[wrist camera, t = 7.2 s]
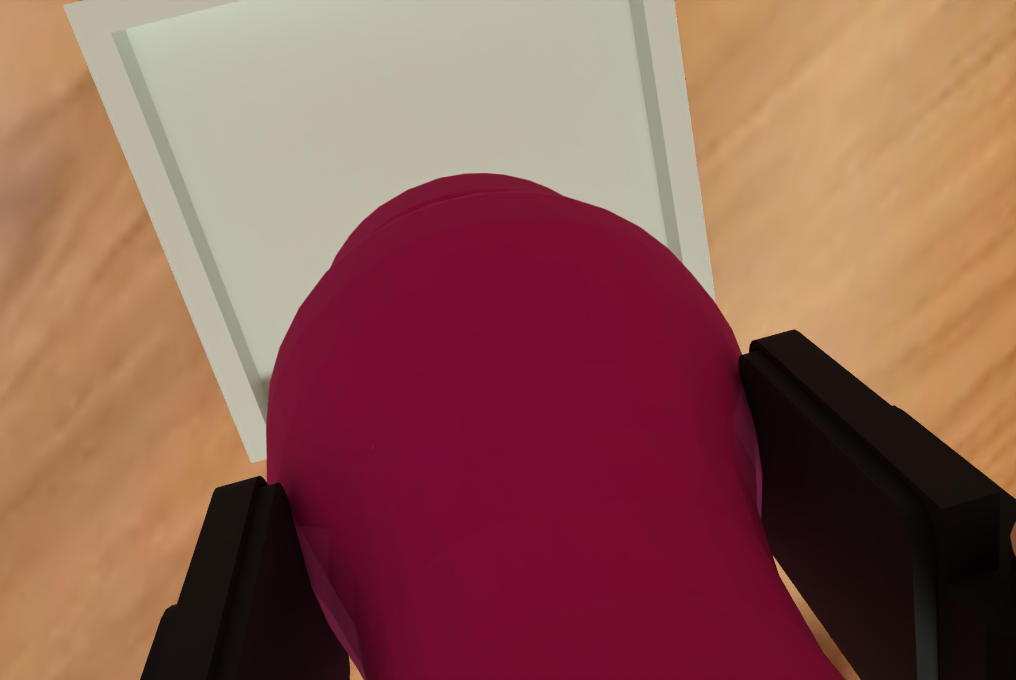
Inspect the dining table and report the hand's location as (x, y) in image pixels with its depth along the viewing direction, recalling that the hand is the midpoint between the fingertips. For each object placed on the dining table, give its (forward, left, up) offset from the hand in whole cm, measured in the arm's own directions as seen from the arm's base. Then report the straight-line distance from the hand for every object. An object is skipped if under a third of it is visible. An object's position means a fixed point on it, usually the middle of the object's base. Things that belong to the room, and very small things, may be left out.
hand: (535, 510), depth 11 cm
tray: (0, 0, -21) cm, 21 cm away
